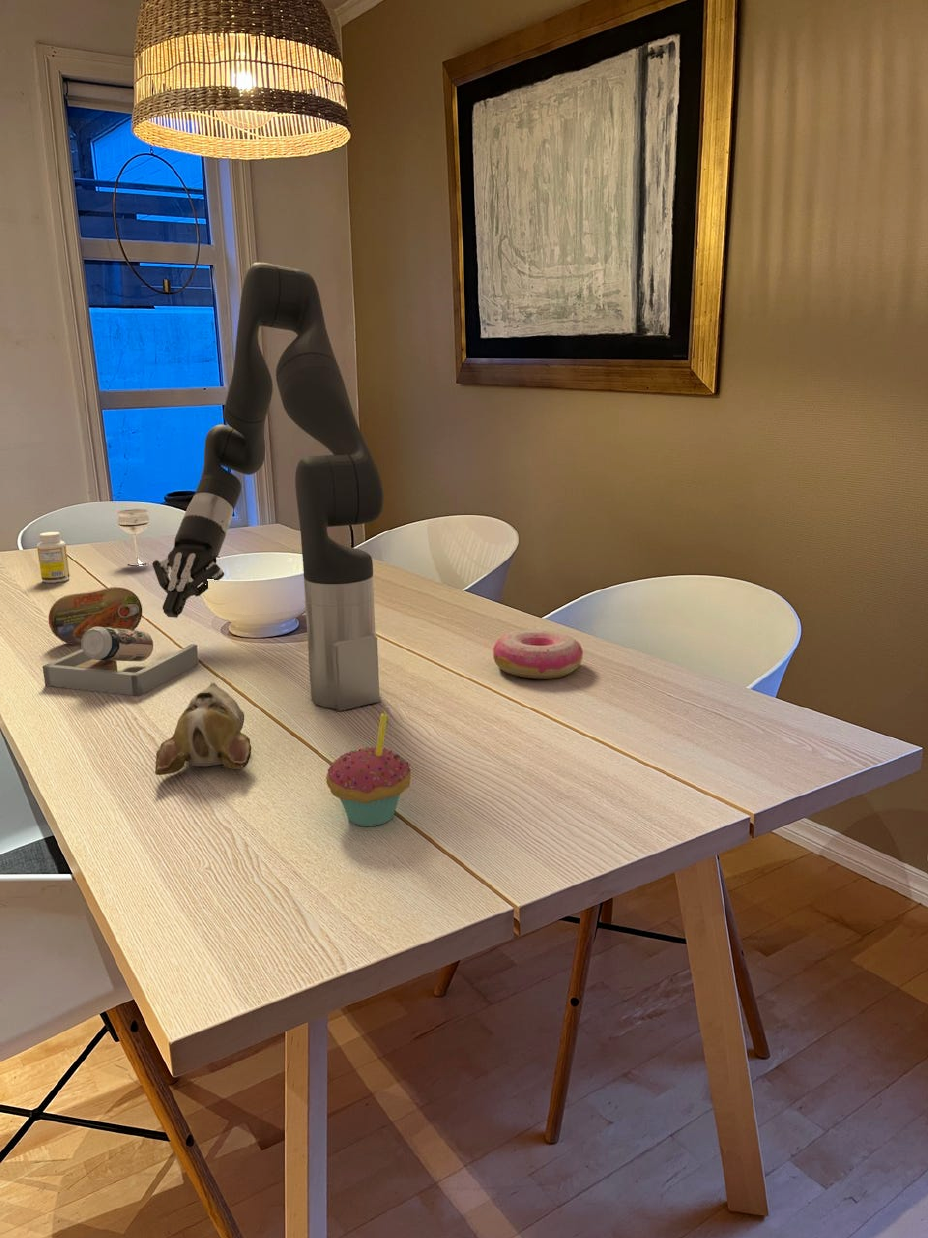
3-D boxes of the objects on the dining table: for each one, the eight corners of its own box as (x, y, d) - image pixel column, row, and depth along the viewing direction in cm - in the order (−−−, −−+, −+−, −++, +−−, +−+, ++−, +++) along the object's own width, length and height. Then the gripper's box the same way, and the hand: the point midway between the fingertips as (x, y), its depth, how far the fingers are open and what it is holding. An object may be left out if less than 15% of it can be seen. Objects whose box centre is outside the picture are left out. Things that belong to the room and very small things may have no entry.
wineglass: (160, 562, 218) (154, 510, 215) (136, 567, 213) (130, 514, 210) (140, 559, 222) (134, 508, 219) (116, 564, 216) (110, 512, 213)
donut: (578, 687, 134) (578, 653, 133) (485, 682, 137) (485, 649, 135) (585, 657, 147) (586, 627, 145) (500, 653, 149) (500, 623, 148)
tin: (55, 649, 154) (48, 599, 152) (49, 645, 157) (42, 596, 154) (145, 632, 164) (140, 584, 161) (138, 628, 166) (133, 581, 164)
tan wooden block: (95, 678, 141) (93, 658, 140) (118, 680, 139) (116, 661, 139) (77, 686, 137) (75, 666, 136) (100, 688, 136) (98, 668, 135)
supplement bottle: (55, 576, 205) (48, 530, 202) (75, 578, 203) (69, 531, 201) (36, 582, 200) (29, 535, 197) (56, 584, 198) (50, 536, 196)
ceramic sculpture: (255, 667, 117) (243, 719, 103) (262, 731, 119) (250, 790, 105) (167, 672, 115) (142, 725, 101) (175, 736, 118) (152, 797, 104)
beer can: (158, 635, 145) (111, 630, 134) (150, 665, 145) (102, 663, 134) (132, 627, 147) (83, 622, 135) (124, 657, 147) (74, 654, 135)
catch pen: (111, 654, 151) (109, 636, 150) (198, 663, 146) (197, 644, 146) (45, 685, 137) (42, 666, 136) (139, 696, 133) (136, 675, 132)
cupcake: (412, 796, 102) (409, 691, 98) (411, 835, 93) (407, 722, 90) (332, 798, 101) (326, 693, 98) (323, 838, 93) (317, 724, 90)
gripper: (160, 511, 159) (122, 600, 151) (229, 515, 155) (195, 606, 147) (181, 536, 165) (146, 623, 157) (248, 540, 161) (216, 629, 154)
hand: (170, 615), depth 152 cm, fingers closed
